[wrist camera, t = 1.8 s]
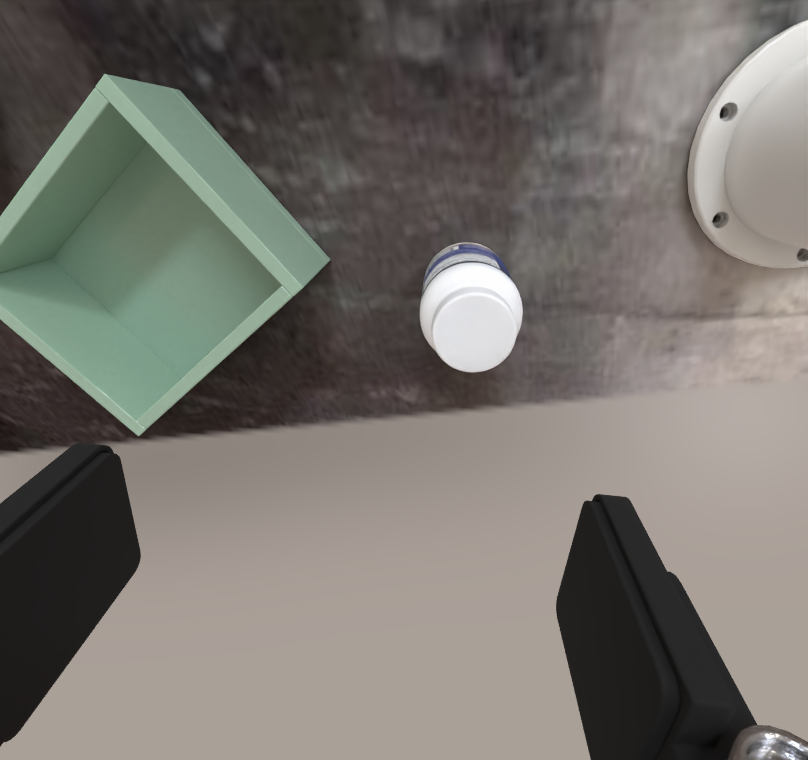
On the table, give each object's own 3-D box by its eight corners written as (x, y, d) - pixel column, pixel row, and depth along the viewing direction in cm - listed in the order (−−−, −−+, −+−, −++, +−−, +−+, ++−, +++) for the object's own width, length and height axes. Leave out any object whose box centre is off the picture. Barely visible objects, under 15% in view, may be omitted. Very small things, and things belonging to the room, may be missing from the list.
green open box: (179, 89, 29) (104, 73, 22) (331, 259, 32) (303, 287, 26) (45, 254, 33) (-48, 279, 27) (190, 386, 37) (138, 436, 31)
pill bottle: (502, 325, 33) (523, 390, 24) (421, 320, 33) (413, 383, 25) (512, 242, 31) (540, 281, 22) (426, 238, 31) (419, 275, 22)
